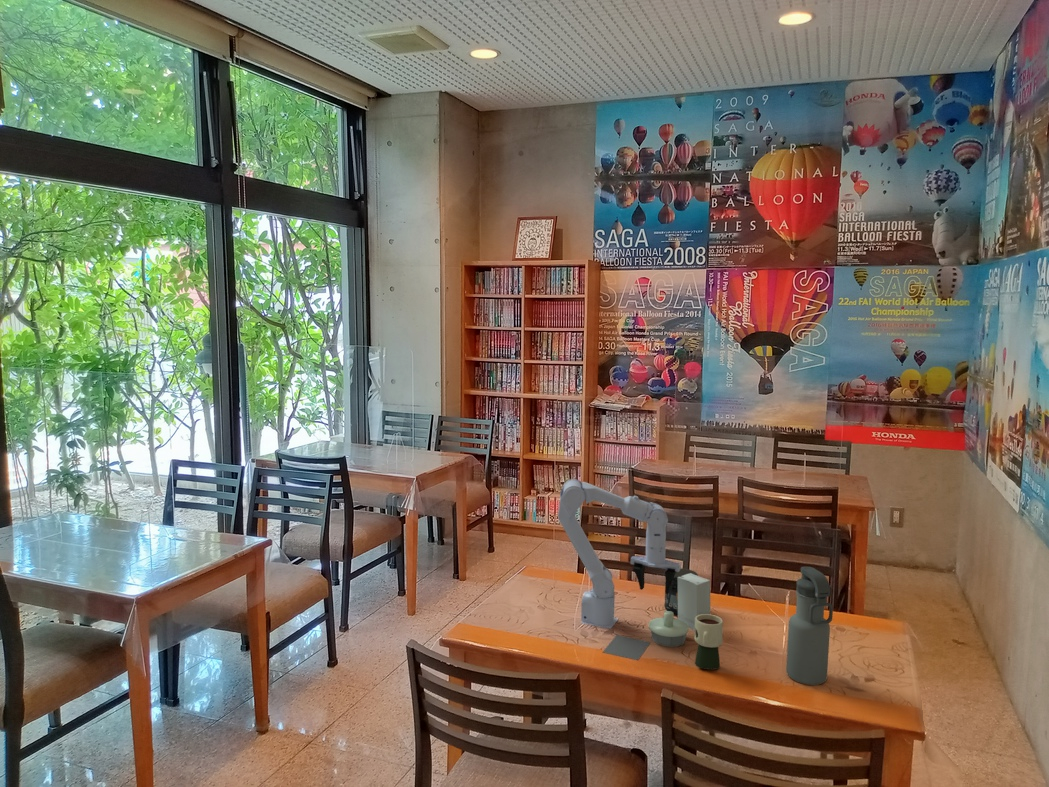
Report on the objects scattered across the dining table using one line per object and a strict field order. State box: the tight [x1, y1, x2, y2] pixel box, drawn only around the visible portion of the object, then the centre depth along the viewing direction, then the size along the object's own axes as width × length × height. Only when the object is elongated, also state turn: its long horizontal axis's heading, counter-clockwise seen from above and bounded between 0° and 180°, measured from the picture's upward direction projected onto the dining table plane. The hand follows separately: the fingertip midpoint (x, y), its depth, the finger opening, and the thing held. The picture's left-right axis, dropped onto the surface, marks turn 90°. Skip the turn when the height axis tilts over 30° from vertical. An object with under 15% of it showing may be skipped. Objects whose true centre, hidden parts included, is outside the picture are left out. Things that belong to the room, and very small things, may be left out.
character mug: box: [694, 613, 724, 670], centre depth 190 cm, size 11×7×13 cm, turn 156°
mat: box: [602, 634, 651, 661], centre depth 201 cm, size 10×12×1 cm
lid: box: [648, 610, 689, 637], centre depth 205 cm, size 11×11×4 cm
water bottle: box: [785, 566, 834, 686], centre depth 184 cm, size 10×10×28 cm
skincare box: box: [677, 573, 711, 631], centre depth 215 cm, size 8×6×15 cm
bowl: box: [650, 630, 687, 648], centre depth 205 cm, size 9×9×4 cm
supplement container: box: [663, 567, 699, 616], centre depth 226 cm, size 10×10×12 cm
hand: (654, 590), depth 216 cm, fingers open, 7 cm apart
